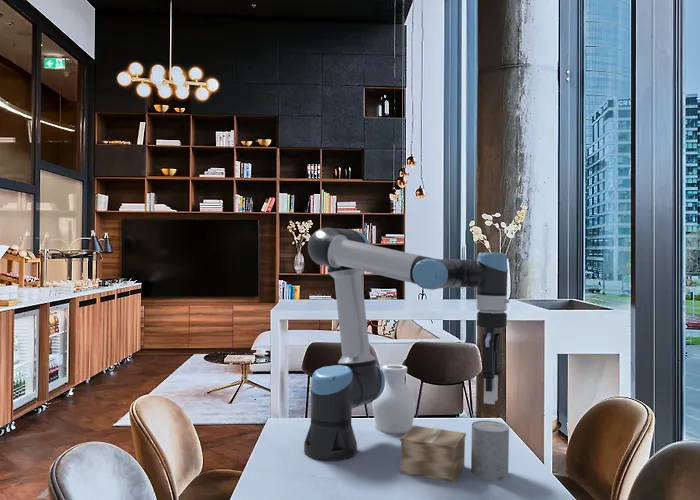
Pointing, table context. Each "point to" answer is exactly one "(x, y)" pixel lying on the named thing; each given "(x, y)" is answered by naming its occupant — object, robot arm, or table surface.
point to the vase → (394, 402)
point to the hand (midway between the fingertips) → (490, 401)
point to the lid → (433, 437)
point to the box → (432, 461)
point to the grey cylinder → (490, 450)
